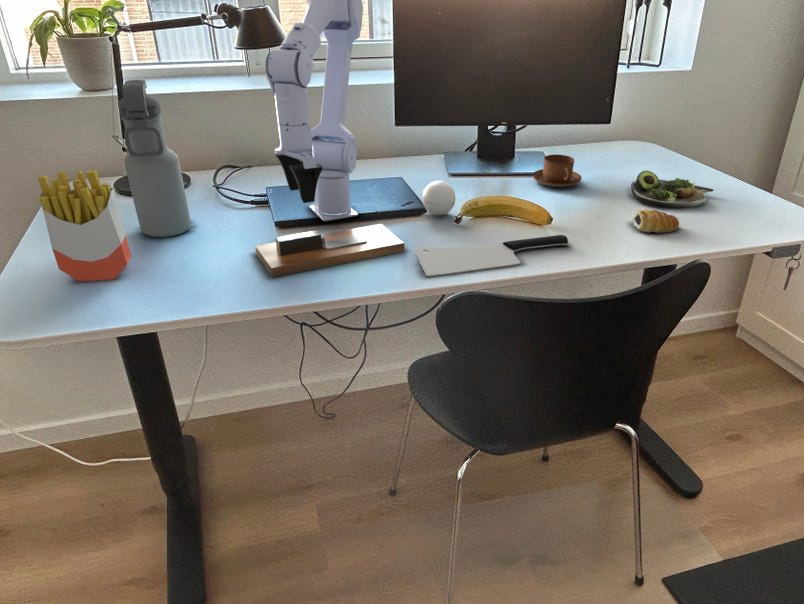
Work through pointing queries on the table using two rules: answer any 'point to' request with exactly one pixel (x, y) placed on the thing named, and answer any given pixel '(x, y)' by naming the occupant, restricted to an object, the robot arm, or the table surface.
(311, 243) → the two-tone stepped block
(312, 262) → the cutting board
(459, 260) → the kitchen cleaver
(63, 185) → the french fries container
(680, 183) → the salad plate
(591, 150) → the table surface
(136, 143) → the water bottle
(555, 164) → the cup and saucer
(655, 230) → the pastry
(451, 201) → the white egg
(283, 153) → the robot arm
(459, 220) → the table surface
